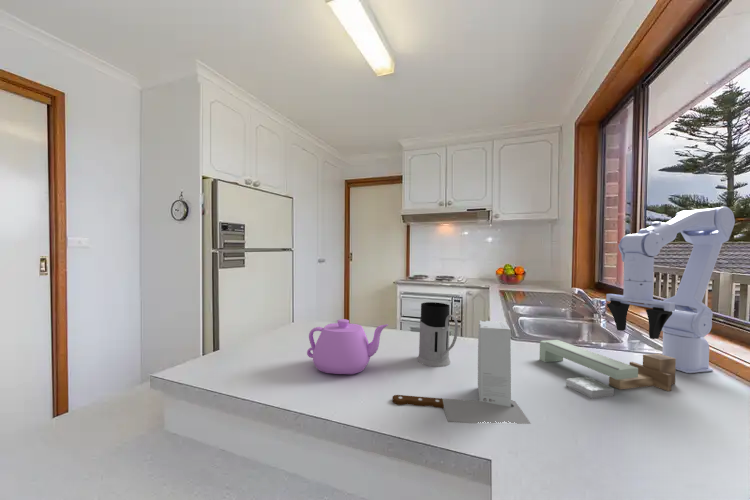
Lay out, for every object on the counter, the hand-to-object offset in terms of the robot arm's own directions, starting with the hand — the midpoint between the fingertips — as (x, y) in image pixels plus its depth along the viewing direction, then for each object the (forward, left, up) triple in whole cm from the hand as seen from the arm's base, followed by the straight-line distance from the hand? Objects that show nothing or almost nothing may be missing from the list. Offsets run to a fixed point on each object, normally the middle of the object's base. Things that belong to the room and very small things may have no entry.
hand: (636, 334), depth 78 cm
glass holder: (+48, -14, -10) cm, 51 cm away
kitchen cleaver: (+55, +8, -10) cm, 56 cm away
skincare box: (+45, +4, -10) cm, 46 cm away
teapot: (+72, -16, -10) cm, 74 cm away
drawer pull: (+15, -2, -10) cm, 18 cm away
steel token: (+22, +6, -10) cm, 25 cm away
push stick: (+7, +6, -10) cm, 13 cm away
